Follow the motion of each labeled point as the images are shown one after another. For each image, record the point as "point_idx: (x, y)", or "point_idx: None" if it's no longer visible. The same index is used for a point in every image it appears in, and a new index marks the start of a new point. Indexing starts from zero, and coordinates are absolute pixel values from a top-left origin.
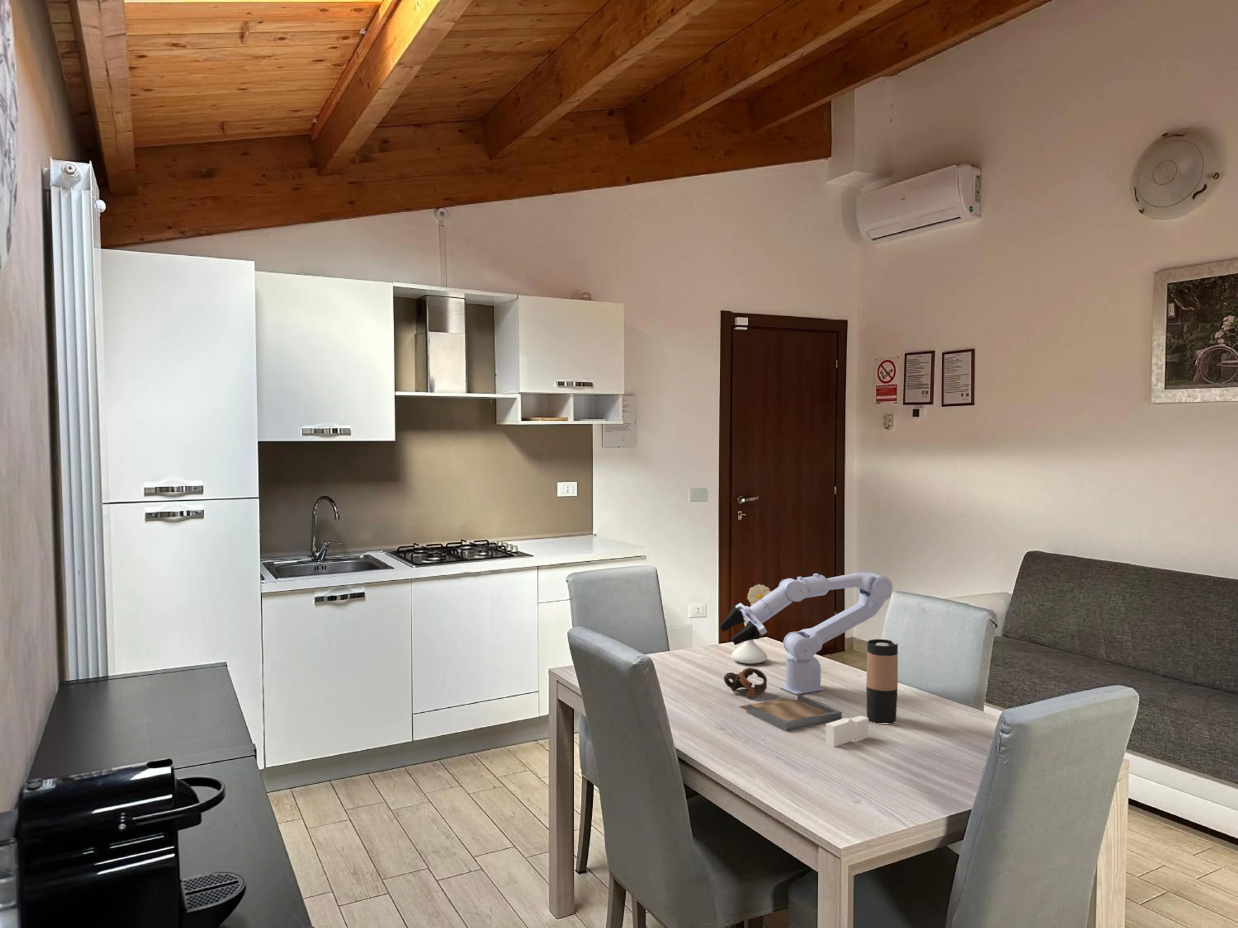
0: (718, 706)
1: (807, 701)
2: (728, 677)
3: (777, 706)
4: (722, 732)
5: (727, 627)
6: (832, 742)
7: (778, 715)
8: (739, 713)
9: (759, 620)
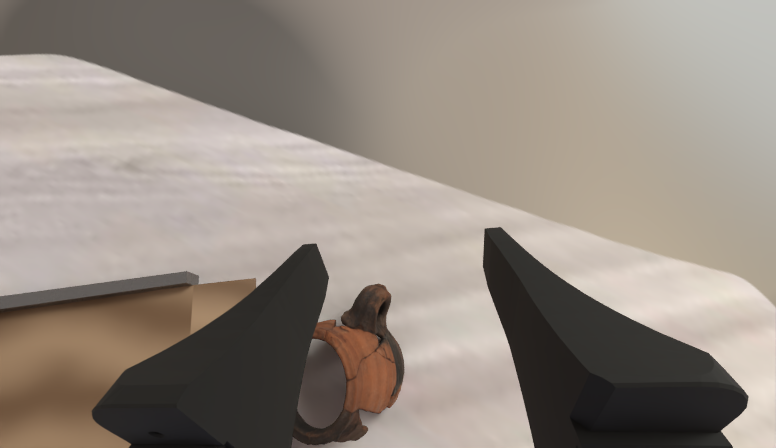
0: (280, 228)
1: None
2: (361, 291)
3: None
4: (109, 155)
5: (494, 291)
6: None
7: (85, 340)
8: (202, 253)
9: None
